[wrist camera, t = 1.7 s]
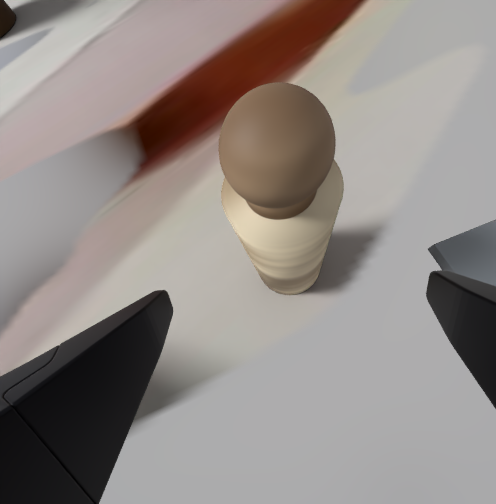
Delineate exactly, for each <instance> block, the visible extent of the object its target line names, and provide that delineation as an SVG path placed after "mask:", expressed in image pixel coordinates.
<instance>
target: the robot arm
mask: <svg viewBox="0 0 496 504" xmlns="http://www.w3.org/2000/svg"><path fill="white" fill-rule="evenodd" d="M426 296H427V300H428V302H429V304H430V306H431V307H432V309H433V311H434V313H435V315H436V317H437V319H438V321H439V323H440V324H441V326H442V328H443V330H444V332H445V334H446V336H447V337H448V339H449V341H450V342H451V344H452V345H453V347H454V349H455V350H456V351H457V353H458V355H459V356H460V357H461V359H462V360H463V362H464V363H465V365H466V366H467V368H468V369H469V370H470V372H471V373H472V375H473V376H474V378H475V379H476V381H477V382H478V384H479V385H480V387H481V388H482V389H483V391H484V392H485V394H486V395H487V397H488V398H489V400H490V401H491V403H492V404H493V406H494V407H495V408H496V286H494V285H491V284H488V283H485V282H482V281H478V280H475V279H472V278H469V277H466V276H463V275H460V274H457V273H454V272H451V271H447V270H442V271H433V272H431V273H430V276H429V281H428V286H427V293H426ZM172 316H173V307H172V304H171V301H170V298H169V295H168V292H167V291H165V290H157V291H154V292H152V293H150V294H148V295H147V296H145V297H143V298H141V299H139V300H138V301H136V302H134V303H132V304H131V305H129V306H127V307H125V308H123V309H122V310H120V311H118V312H116V313H115V314H113V315H111V316H109V317H108V318H106V319H104V320H102V321H100V322H99V323H97V324H95V325H93V326H92V327H90V328H88V329H86V330H84V331H83V332H81V333H79V334H77V335H76V336H74V337H72V338H70V339H69V340H67V341H65V342H63V343H61V344H60V346H59V345H58V346H56V347H54V348H52V349H51V350H49V351H47V352H45V353H44V354H42V355H40V356H38V357H36V358H34V359H33V360H31V361H29V362H27V363H25V364H23V365H22V366H20V367H18V368H16V369H14V370H12V371H10V372H8V373H6V374H4V375H3V376H1V377H0V504H99V502H100V499H101V497H102V494H103V492H104V490H105V487H106V485H107V482H108V480H109V478H110V475H111V473H112V470H113V468H114V466H115V463H116V461H117V458H118V456H119V454H120V451H121V449H122V446H123V444H124V441H125V439H126V437H127V434H128V432H129V429H130V427H131V425H132V422H133V420H134V417H135V415H136V412H137V410H138V408H139V405H140V403H141V400H142V398H143V396H144V393H145V391H146V388H147V386H148V383H149V381H150V379H151V376H152V374H153V371H154V369H155V367H156V364H157V362H158V359H159V357H160V354H161V352H162V349H163V346H164V343H165V339H166V336H167V333H168V329H169V326H170V322H171V319H172Z"/></svg>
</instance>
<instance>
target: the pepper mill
mask: <svg viewBox="0 0 496 504" xmlns="http://www.w3.org/2000/svg"><path fill="white" fill-rule="evenodd" d="M334 154H335V131H334V127H333V123H332V120H331V118H330V115H329V113H328V112H327V110H326V108H325V107H324V105H323V104H322V103H321V102H320V101H319V99H318V98H317V97H316V96H314V95H313V94H312V93H310V92H309V91H307V90H306V89H304V88H302V87H300V86H297V85H293V84H289V83H270V84H265V85H262V86H259V87H257V88H255V89H253V90H251V91H249V92H248V93H246V94H245V95H244V96H243V97H241V98H240V99H239V100H238V101H237V102H236V103H235V104H234V106H233V107H232V108H231V110H230V111H229V113H228V114H227V116H226V118H225V121H224V123H223V125H222V128H221V132H220V137H219V158H220V164H221V167H222V170H223V173H224V175H225V178H224V182H223V185H222V191H221V199H222V205H223V209H224V212H225V214H226V216H227V218H228V220H229V221H230V223H231V225H232V227H233V229H234V230H235V232H236V234H237V236H238V237H239V239H240V241H241V243H242V245H243V246H244V248H245V250H246V252H247V254H248V255H249V257H250V259H251V261H252V263H253V264H254V266H255V268H256V270H257V271H258V273H259V275H260V277H261V279H262V280H263V282H264V283H265V284H266V285H267V286H268V287H269V288H270V289H271V290H273V291H275V292H277V293H280V294H284V295H295V294H299V293H302V292H304V291H306V290H307V289H309V288H310V287H311V286H312V285H313V284H314V283H315V281H316V280H317V278H318V275H319V272H320V269H321V266H322V262H323V259H324V256H325V253H326V249H327V246H328V243H329V240H330V236H331V233H332V230H333V227H334V223H335V220H336V217H337V214H338V210H339V207H340V204H341V201H342V197H343V191H344V184H343V177H342V174H341V171H340V168H339V167H338V165H337V163H336V162H335V160H334Z"/></svg>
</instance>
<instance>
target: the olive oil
mask: <svg viewBox="0 0 496 504" xmlns="http://www.w3.org/2000/svg"><path fill="white" fill-rule="evenodd" d="M15 20H16V16H15V14H14V12H13V11H12V10H11V8H10V7H9V6H8V5H7V4H6V2H5V1H4V0H0V37H2V36H3V35H4V34H5V33H7V32H8V31H9V30H10V28H11V27H12V26H13V24H14V23H15Z"/></svg>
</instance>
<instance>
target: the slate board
mask: <svg viewBox="0 0 496 504" xmlns="http://www.w3.org/2000/svg"><path fill="white" fill-rule="evenodd" d="M428 250H429V252H430V253H431V255H432V256H433V257H434V259H435V260H436V262H437V263H438V264H439V266H440V267H441V269H442V270H447V271H451V272H454V273H457V274H460V275H463V276H466V277H469V278H472V279H475V280H478V281H482V282H485V283H488V284H491V285H494V286H496V220H494V221H491V222H489V223H486V224H484V225H481V226H479V227H476V228H474V229H471V230H469V231H466V232H464V233H462V234H459V235H456V236H454V237H451V238H449V239H446V240H444V241H441V242H439V243H436V244H434V245H433V246H431V247H430V248H429V249H428Z"/></svg>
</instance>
